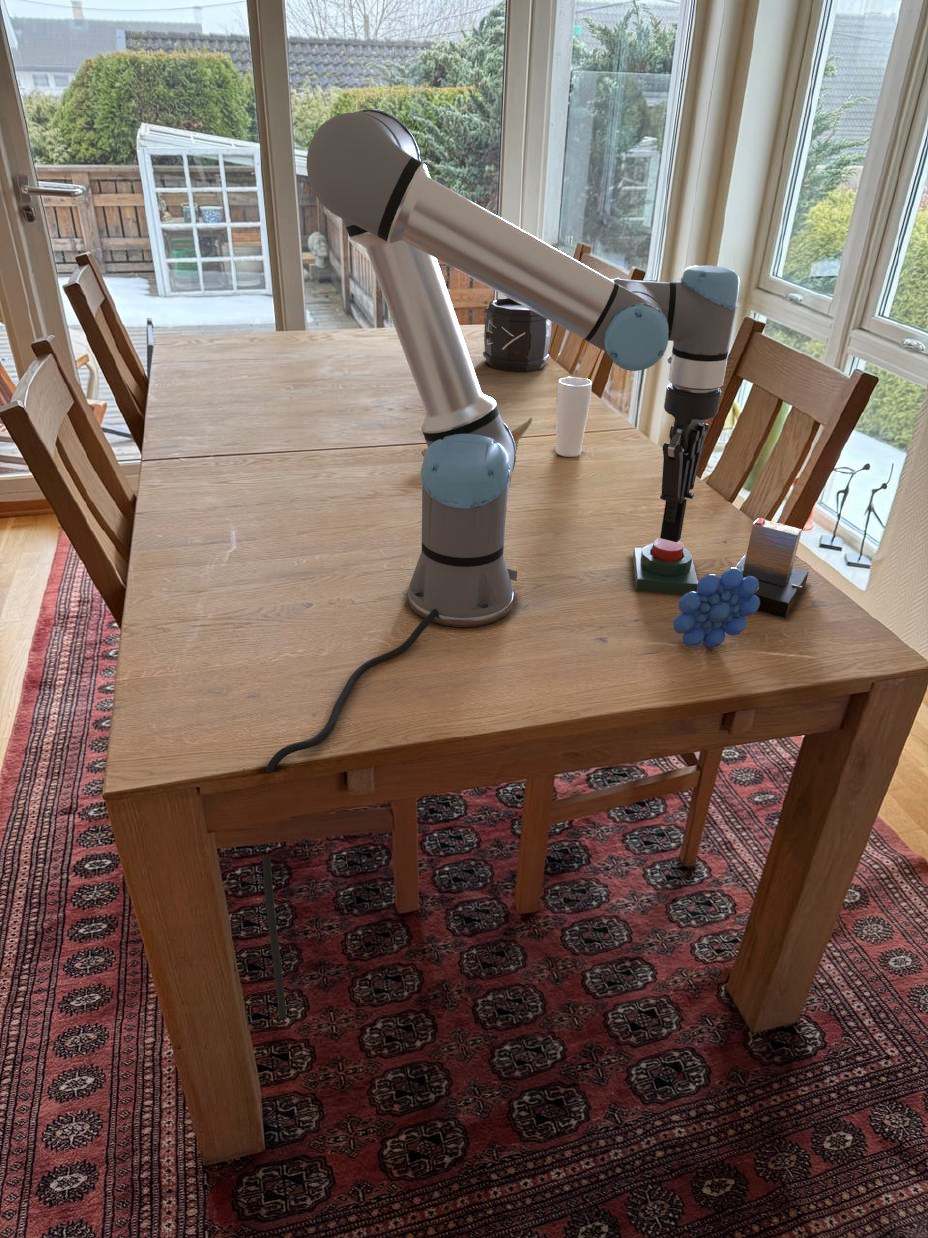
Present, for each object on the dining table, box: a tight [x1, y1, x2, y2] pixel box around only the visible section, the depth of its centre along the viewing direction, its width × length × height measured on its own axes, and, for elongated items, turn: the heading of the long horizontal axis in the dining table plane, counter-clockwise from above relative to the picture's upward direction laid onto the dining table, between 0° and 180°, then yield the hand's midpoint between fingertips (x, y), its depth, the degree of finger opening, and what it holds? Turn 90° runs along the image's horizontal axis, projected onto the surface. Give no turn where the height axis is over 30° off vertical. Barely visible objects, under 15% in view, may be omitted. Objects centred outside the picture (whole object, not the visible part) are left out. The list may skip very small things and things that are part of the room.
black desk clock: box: [482, 297, 552, 372], centre depth 243 cm, size 18×18×16 cm
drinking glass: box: [554, 376, 593, 458], centre depth 185 cm, size 7×7×15 cm
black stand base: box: [730, 554, 809, 619], centre depth 139 cm, size 12×11×3 cm
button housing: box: [632, 543, 699, 595], centre depth 142 cm, size 11×9×4 cm
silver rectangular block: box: [743, 517, 803, 587], centre depth 136 cm, size 6×3×9 cm, turn 58°
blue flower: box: [672, 567, 760, 648], centre depth 123 cm, size 12×7×12 cm, turn 98°
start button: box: [652, 537, 685, 561], centre depth 140 cm, size 5×5×2 cm
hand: (670, 538), depth 139 cm, fingers closed
